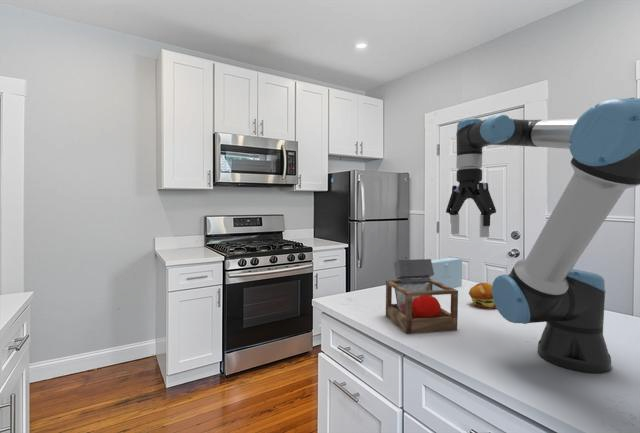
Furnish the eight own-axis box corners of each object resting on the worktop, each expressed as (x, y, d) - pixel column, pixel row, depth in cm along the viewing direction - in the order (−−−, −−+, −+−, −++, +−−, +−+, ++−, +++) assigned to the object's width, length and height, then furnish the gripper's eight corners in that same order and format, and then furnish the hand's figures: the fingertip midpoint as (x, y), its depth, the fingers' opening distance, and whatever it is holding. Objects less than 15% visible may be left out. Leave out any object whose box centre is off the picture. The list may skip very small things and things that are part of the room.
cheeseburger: (507, 307, 130) (503, 283, 129) (486, 317, 126) (483, 292, 125) (485, 300, 140) (482, 277, 138) (466, 309, 136) (462, 285, 134)
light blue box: (430, 293, 151) (430, 263, 150) (420, 290, 155) (420, 261, 155) (463, 286, 163) (463, 259, 162) (452, 284, 168) (453, 257, 167)
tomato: (433, 325, 113) (426, 304, 118) (449, 314, 107) (441, 292, 112) (409, 325, 111) (403, 303, 115) (423, 313, 104) (416, 291, 109)
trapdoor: (390, 264, 121) (397, 260, 116) (424, 263, 124) (432, 259, 118) (399, 320, 114) (406, 319, 109) (435, 318, 116) (444, 316, 111)
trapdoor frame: (457, 329, 107) (458, 290, 107) (407, 333, 104) (407, 293, 104) (429, 312, 124) (430, 278, 124) (385, 315, 121) (386, 280, 120)
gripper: (510, 164, 98) (509, 238, 98) (454, 173, 122) (453, 233, 122) (488, 163, 96) (487, 239, 96) (435, 173, 120) (435, 233, 120)
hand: (468, 235), depth 109 cm, fingers open, 13 cm apart
